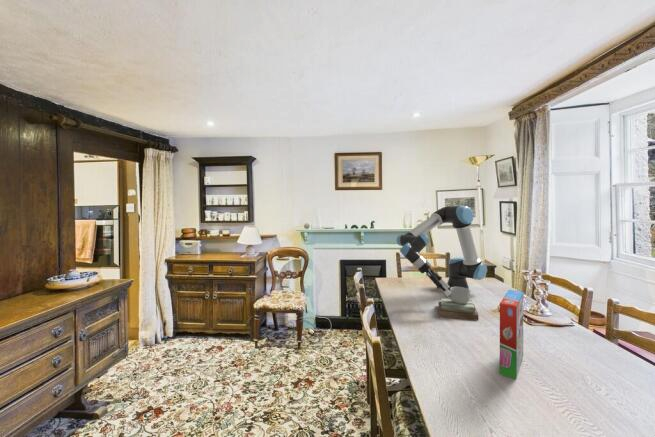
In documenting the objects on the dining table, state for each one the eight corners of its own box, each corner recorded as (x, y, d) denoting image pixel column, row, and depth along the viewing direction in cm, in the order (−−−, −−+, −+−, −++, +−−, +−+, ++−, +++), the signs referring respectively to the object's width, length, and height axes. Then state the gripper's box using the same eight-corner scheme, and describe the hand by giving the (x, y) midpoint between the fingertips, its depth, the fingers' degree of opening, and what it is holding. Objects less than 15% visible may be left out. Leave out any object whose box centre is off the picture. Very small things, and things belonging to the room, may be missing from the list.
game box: (508, 352, 126) (508, 289, 125) (523, 356, 122) (523, 291, 121) (499, 374, 110) (499, 302, 108) (516, 379, 106) (517, 305, 105)
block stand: (438, 306, 184) (438, 296, 184) (474, 309, 177) (474, 299, 177) (439, 316, 167) (439, 306, 167) (478, 320, 160) (478, 309, 160)
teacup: (466, 299, 177) (466, 286, 176) (473, 305, 166) (473, 291, 165) (442, 299, 178) (442, 286, 177) (448, 305, 167) (447, 291, 167)
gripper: (418, 264, 190) (443, 289, 185) (416, 273, 166) (444, 302, 162) (426, 257, 188) (452, 281, 184) (426, 264, 164) (455, 293, 160)
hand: (448, 291), depth 173 cm, fingers open, 13 cm apart
